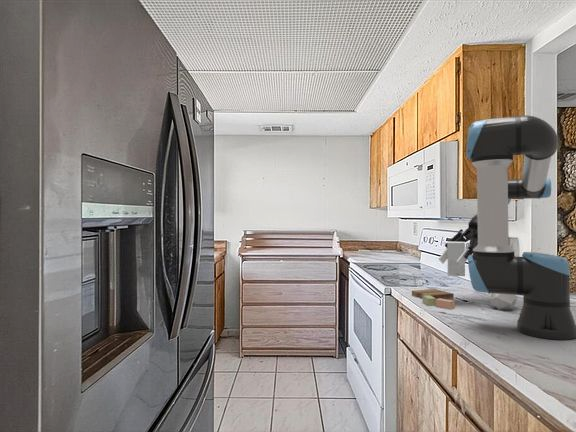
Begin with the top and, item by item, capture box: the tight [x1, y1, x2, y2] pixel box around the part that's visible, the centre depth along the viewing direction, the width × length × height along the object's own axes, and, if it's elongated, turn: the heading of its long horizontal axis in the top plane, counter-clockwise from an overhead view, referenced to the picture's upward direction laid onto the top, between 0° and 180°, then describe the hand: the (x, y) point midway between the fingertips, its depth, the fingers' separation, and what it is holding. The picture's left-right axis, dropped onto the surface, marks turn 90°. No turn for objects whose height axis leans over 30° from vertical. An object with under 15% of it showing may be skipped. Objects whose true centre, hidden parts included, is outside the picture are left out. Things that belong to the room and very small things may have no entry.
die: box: [488, 293, 519, 311], centre depth 150 cm, size 8×9×10 cm
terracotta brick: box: [435, 298, 456, 310], centre depth 153 cm, size 6×3×3 cm, turn 39°
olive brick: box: [422, 295, 436, 307], centre depth 159 cm, size 6×3×3 cm, turn 2°
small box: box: [446, 241, 466, 277], centre depth 159 cm, size 8×6×13 cm
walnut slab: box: [411, 288, 454, 300], centre depth 172 cm, size 12×12×2 cm
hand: (449, 262), depth 158 cm, fingers closed on small box, 10 cm apart
